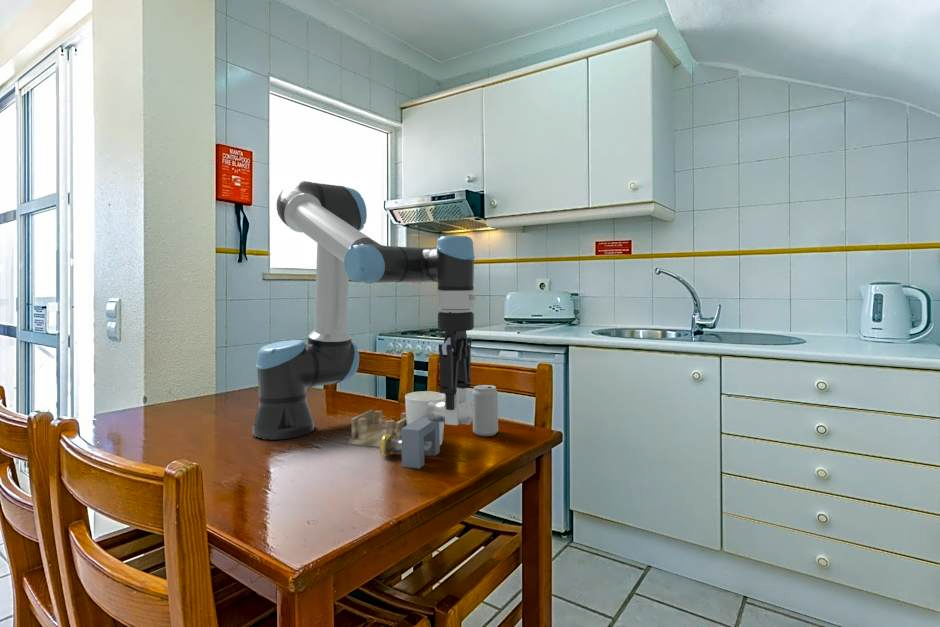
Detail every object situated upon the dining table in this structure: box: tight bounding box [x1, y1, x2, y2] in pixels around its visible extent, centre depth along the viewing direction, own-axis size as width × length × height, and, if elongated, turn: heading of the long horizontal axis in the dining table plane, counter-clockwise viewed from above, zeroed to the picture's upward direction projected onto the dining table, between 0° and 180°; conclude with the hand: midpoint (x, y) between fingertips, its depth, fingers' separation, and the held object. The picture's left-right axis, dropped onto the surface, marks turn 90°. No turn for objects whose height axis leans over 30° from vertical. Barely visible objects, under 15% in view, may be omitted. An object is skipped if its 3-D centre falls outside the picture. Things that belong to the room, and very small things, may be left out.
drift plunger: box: [379, 434, 433, 457], centre depth 114 cm, size 11×5×5 cm, turn 71°
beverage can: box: [471, 384, 499, 437], centre depth 131 cm, size 6×6×12 cm
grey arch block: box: [401, 416, 441, 470], centre depth 113 cm, size 4×11×8 cm, turn 161°
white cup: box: [404, 390, 445, 446], centre depth 124 cm, size 10×10×12 cm
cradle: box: [348, 409, 406, 448], centre depth 127 cm, size 14×10×6 cm
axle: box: [427, 400, 474, 426], centre depth 110 cm, size 9×4×4 cm, turn 71°
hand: (456, 420), depth 110 cm, fingers closed on axle, 4 cm apart
